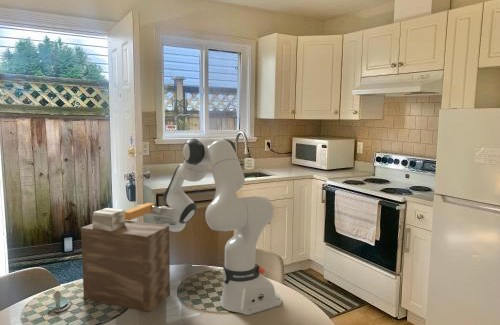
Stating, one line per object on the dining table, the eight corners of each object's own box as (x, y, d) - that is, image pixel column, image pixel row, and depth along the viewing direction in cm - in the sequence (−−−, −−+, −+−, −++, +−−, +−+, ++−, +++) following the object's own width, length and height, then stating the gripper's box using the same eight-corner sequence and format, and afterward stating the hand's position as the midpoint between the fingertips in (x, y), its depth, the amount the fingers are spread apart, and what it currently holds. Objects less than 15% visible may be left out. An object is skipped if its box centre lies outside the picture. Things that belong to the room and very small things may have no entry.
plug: (149, 209, 166) (149, 202, 165) (156, 209, 165) (156, 202, 164) (122, 219, 149) (122, 211, 149) (130, 220, 148) (129, 212, 147)
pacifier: (74, 304, 137) (59, 302, 138) (74, 288, 137) (59, 286, 138) (61, 314, 130) (45, 312, 131) (60, 297, 129) (45, 295, 130)
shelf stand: (109, 283, 154) (106, 203, 150) (169, 294, 145) (168, 209, 141) (83, 298, 141) (80, 211, 137) (148, 312, 132) (146, 219, 128)
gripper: (145, 207, 178) (129, 197, 166) (184, 211, 171) (170, 201, 159) (141, 220, 176) (124, 211, 164) (181, 225, 169) (166, 216, 157)
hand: (147, 206), depth 161 cm, fingers closed on plug, 3 cm apart
